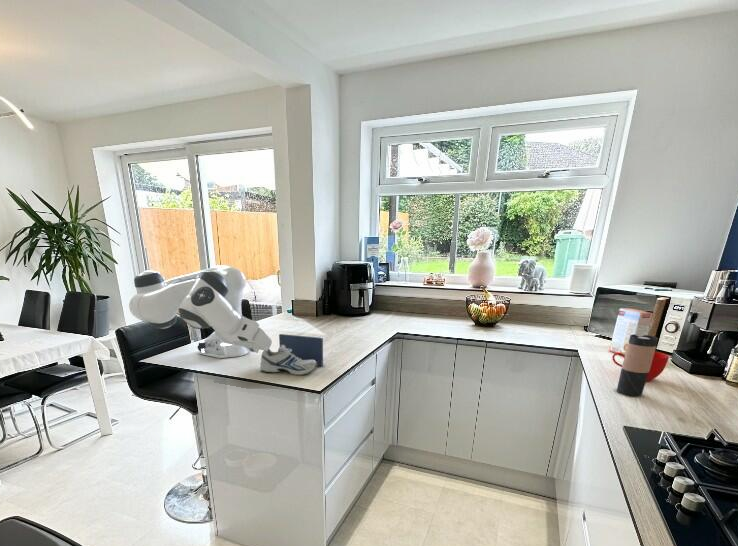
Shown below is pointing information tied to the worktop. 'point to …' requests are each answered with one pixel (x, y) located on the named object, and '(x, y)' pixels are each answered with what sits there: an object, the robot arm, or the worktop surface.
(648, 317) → the cracker box
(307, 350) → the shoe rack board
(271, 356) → the athletic shoe
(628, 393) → the travel mug
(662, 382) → the worktop surface
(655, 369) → the ceramic cup
